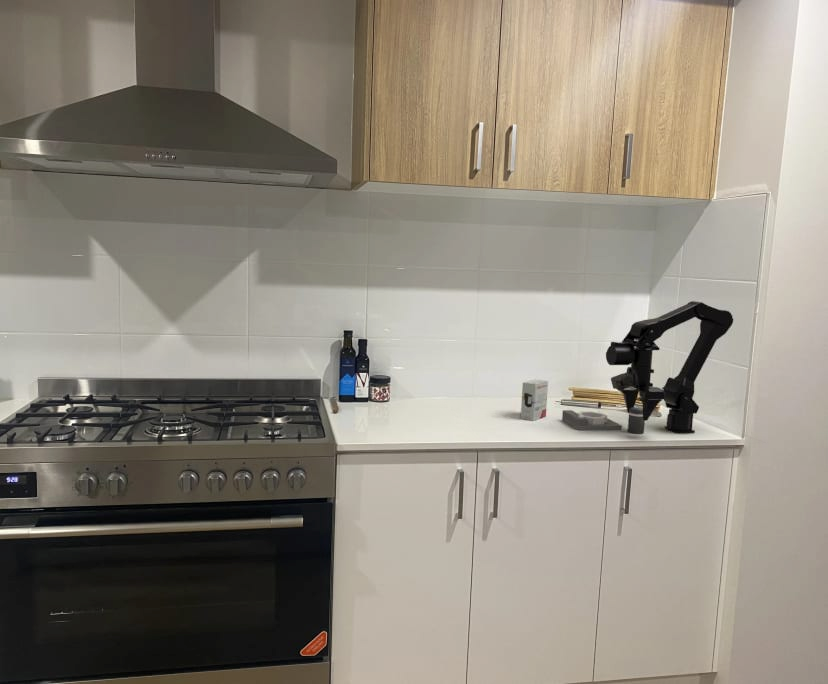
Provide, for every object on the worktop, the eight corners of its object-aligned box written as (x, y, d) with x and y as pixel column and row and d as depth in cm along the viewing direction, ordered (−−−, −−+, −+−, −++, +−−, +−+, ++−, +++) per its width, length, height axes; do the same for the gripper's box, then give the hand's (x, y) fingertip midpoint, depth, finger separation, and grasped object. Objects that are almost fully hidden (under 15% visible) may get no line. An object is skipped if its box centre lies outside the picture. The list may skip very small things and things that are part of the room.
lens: (638, 429, 202) (640, 406, 201) (646, 434, 198) (648, 410, 197) (624, 430, 202) (626, 406, 201) (632, 434, 197) (634, 410, 196)
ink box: (533, 414, 218) (535, 378, 217) (546, 416, 215) (549, 380, 214) (519, 418, 212) (521, 381, 210) (533, 421, 209) (535, 384, 207)
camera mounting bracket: (603, 419, 214) (604, 408, 213) (621, 429, 202) (622, 417, 202) (562, 420, 211) (562, 408, 211) (578, 430, 199) (578, 417, 199)
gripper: (601, 359, 205) (597, 409, 207) (631, 370, 187) (627, 425, 189) (634, 359, 207) (631, 409, 209) (668, 370, 189) (663, 424, 191)
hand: (637, 416), depth 199 cm, fingers open, 9 cm apart
